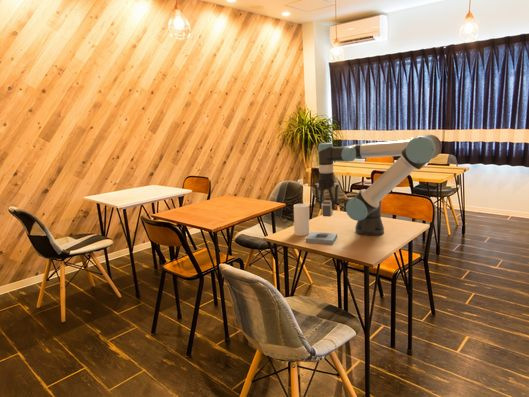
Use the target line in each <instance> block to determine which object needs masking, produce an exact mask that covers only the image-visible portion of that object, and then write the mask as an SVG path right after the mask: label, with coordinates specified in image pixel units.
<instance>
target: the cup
mask: <svg viewBox="0 0 529 397" xmlns="http://www.w3.org/2000/svg"><path fill="white" fill-rule="evenodd" d="M293 228H294V229H293V230H294V235H295V236H301V237H302V236H303V237H304V236H308V235H309V234H310V205H309V204H307V203H296V204H294V205H293Z"/></svg>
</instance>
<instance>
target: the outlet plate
mask: <svg viewBox="0 0 529 397" xmlns="http://www.w3.org/2000/svg"><path fill="white" fill-rule="evenodd" d="M337 239H338V232H337V233H336V232H333V233H332V232H320V231H311V232H309V234H308V235H306V237H305V243H309V244H310V243H312V244H324V245H326V244H327V245H334V243H335V242H336V240H337Z"/></svg>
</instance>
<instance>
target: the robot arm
mask: <svg viewBox="0 0 529 397" xmlns="http://www.w3.org/2000/svg"><path fill="white" fill-rule="evenodd" d="M442 145H443V144H442V142H441V140H440V138H439V137H438V136H435V135H434V134H424V135H417V136H415V137H414V136H413V137H411V139H405V140H404V139H403V140H392V141H383V142H382V141H381V142H380V141H378V142H370V143H353V144H349V145H345V146H334V145H333V142H321V143H319V144H318V152H317V153H318V172H319V174H318V177H319V179H318V180H319V181H318V182H317V183H314V184H313V187H314V191H315V202H316V203H319V209H320V210H321V216H323V201H324V195H325V190H327V191H328V193H329V197H330V200H331V202H332V203H331V204H330V214H331V216H330V217H332V216H333V215H334V210H335V206H336V205H335V204H336V203H338V201H339V187H340V184H339V183H336V182H335V180H334V178H335V177H334V162H347V163H348V162H353V161H355V159H356V160H357V159H370V158H371V159H372V158H383V157H384V158H386V157H399V158H398V159H397V160H396V161H395V162H393V163H392V165H391V166H390V167H389V168H387V170H385V171H384V172H383V173H381V175H380V176H379V177H378V178H376V180H375V181H374V182H373V183H372V184H370V185H369V186H368V187H367V189H365V188H364V189H360V190H359V191H358V193H356V195H355V196H354V197H353V198H352V197H351V198H350V199H349V200H348V201H347V202H346V204H345V212H346V215H347V216H348V217H349V218H350V219H352V220H353V221H356V224H355V233H356V234H360V235H362V236H363V235H364V236H378V235H382V234H384V232H385V226H384V224H383V221H382V218H381V217H382V200H383V199H384V198H385V197H386V196H387V195H388V194H390V192H391V191H392V190H394V189H395V188H396V187H398V185H399V184H401V182H403V181H404V180H405V179H406V178H407V177H408V176H409V175H410V174H412V172H413V171H415V170H416V171H417V170H418V171H419V170H421V169H422V168H423V167H424V166H425V165H426V164H427V163H429V162H430V161H431V160H433V159H434V158H436V157H438V156H439V155H440V152H442V148H443V147H442ZM319 186H320V188H321V189H319ZM333 186H334V192H333V188H332V187H333ZM319 190H321V192H319ZM333 193H334V194H333Z"/></svg>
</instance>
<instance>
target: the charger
mask: <svg viewBox="0 0 529 397" xmlns="http://www.w3.org/2000/svg"><path fill="white" fill-rule="evenodd" d="M322 203H323V215H322V216H323V217H332V216H331V214H330V204H331V203H332V202H331V199H329V200H325V199H323V202H322Z"/></svg>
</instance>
